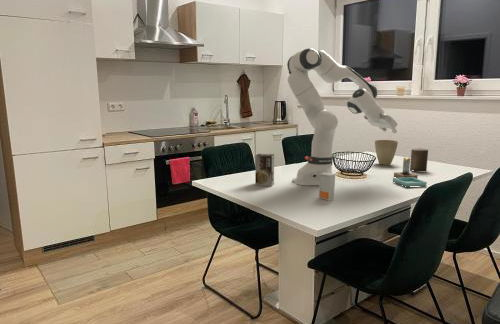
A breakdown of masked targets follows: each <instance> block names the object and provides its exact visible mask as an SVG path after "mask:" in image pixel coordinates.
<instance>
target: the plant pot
mask: <svg viewBox="0 0 500 324" xmlns="http://www.w3.org/2000/svg"><path fill="white" fill-rule="evenodd" d="M398 145H399V141H397V140H394V139H393V140H392V139H376V140H374V148H375V153H376V158H377V161H378V165H380V164H383V165H382V166H391V165H392V163H393V160H394V158H395V155H396V153H397V152H396V151H397V148H398ZM390 164H391V165H390Z"/></svg>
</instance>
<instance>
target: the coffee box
mask: <svg viewBox="0 0 500 324" xmlns="http://www.w3.org/2000/svg"><path fill="white" fill-rule="evenodd" d="M254 157H255V161H254V163H255V164H254V165H255V175H254V176H255V186H262V187H273V185H274V184H275V154H274V153H273V154H272V153H257V154H256V155H255V156H254Z"/></svg>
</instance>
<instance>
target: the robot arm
mask: <svg viewBox="0 0 500 324" xmlns="http://www.w3.org/2000/svg"><path fill="white" fill-rule="evenodd" d="M286 64H287V66H286V67H287V70H288V74H289V75H288V77H287V83H288V86H289V88H290V90H291V92H292V94H293V95H294V96H295V98H296V100H297V102H298V103H299V105H300V106H301V108H302V110H303V112H304V114H305V116H306V119H307V120H308V122H309V124H310V125H311V126H312V128H313V129H314V133H313V137H312V141H311V154H310V156H308V155H306V156H305V157H304V159H305V160H306V161H307V163H306V164H304V165H303V166H302V167H300V168H299V169H298V170H297V174H296V177H293V178H292V182H293V183H294V184H296V185H298V186H319V179H320V173H323V172H326V173H332V174H333V168H332V167H333V162H334V161H333V142H334V137H335V133H336V128H337V126H338V122H339V121H338V118H337V116H336V115H335V114H334V113H333V112H331V111H329V110H327V109H326V107H325V105H324V102H323V100H322V97H321V95H320V93H319V92H318V90H317V89H316V87H315V86H314V84H313V82H312V81H311V79H310V77H309V71H311V70H314V71H315V72H316V74H317V75H318V76H319V77H320V78H321V79H322V80H323V81H324V82H326V83H327V84H334V83H337V82H339V81H342V80H343V79H346V78H347V79H349V80H350V81H351V82H353V83H354V84H356V85H357V86H358V89H356V90H355V91H354V92H353V93H352V96H350V98H349V99H348V100H347V102H346V105H347V109H348V110H349V111H350V112H351V113H352V114H355V115H358V114H362V113H364V115H363V118H364V119H365V120H367V122H368V123H369V124H370V125H371V126H373V127H378V129H380V130H381V131H382V132H386V131H387V129H390V130H391V132H392V133H393V134H396V133H397V132H398V131H397V129H396V127H397V126H398V123H397V121H396V120H395V119H394V118H393V117H392V115H389V114H385V110H384V109H383V107H382V106H381V105H380V104H379V103H378V102H377V101H376V98H377V96H378V89H377V87H376V86H375V85H373V84H372V83H370V82H369V81H368V80H366V79H365V78H364V77H362V75H360V74H359V73H358V72H356V71H355V70H354V69H352V68H351V67H350V66H348V65H346V64H345V65H341V64H339V63H337V61H336V60H335V59H334V58H333V57H332V56H331V55H330V54H328V53H327V52H326V51H325V50H323V49H319V50H316V49H314V48H311V47H310V48H305V49H303V50H301V51H298V52H296V53H295V54H293V55H292V56H290V58H288V61H287V63H286Z"/></svg>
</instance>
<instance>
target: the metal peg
mask: <svg viewBox="0 0 500 324" xmlns="http://www.w3.org/2000/svg"><path fill="white" fill-rule="evenodd" d="M410 161H411V157H403V162H402V163H403V164H402V171H401V172H402V174H403V175H409V172H410Z"/></svg>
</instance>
